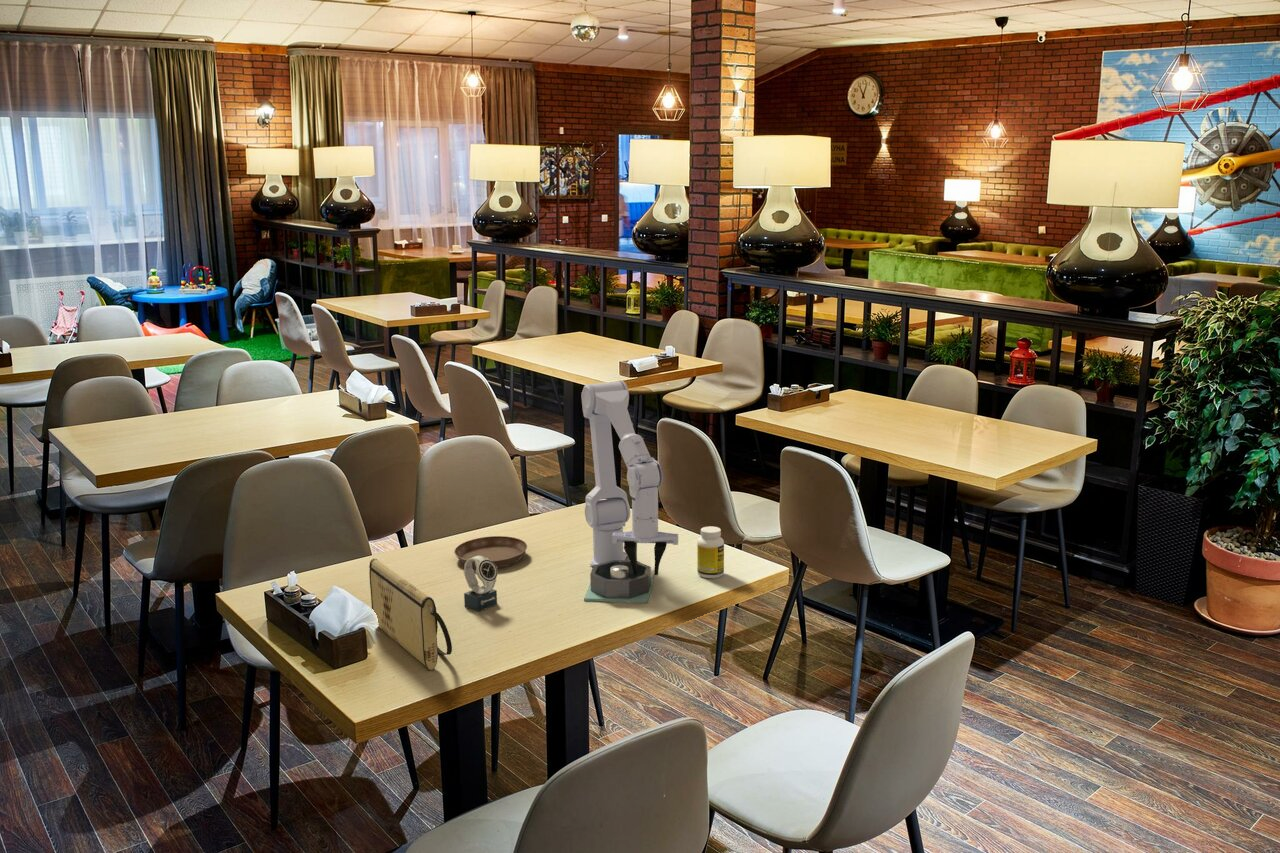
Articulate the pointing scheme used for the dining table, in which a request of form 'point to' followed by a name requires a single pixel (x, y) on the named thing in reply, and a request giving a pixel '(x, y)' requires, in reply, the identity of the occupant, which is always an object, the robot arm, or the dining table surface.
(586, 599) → the teal board
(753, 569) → the dining table surface
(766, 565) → the dining table surface
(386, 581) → the clutch purse
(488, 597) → the watch
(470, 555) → the plant saucer
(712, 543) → the pill bottle
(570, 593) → the dining table surface
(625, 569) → the post
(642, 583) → the gunmetal ring
